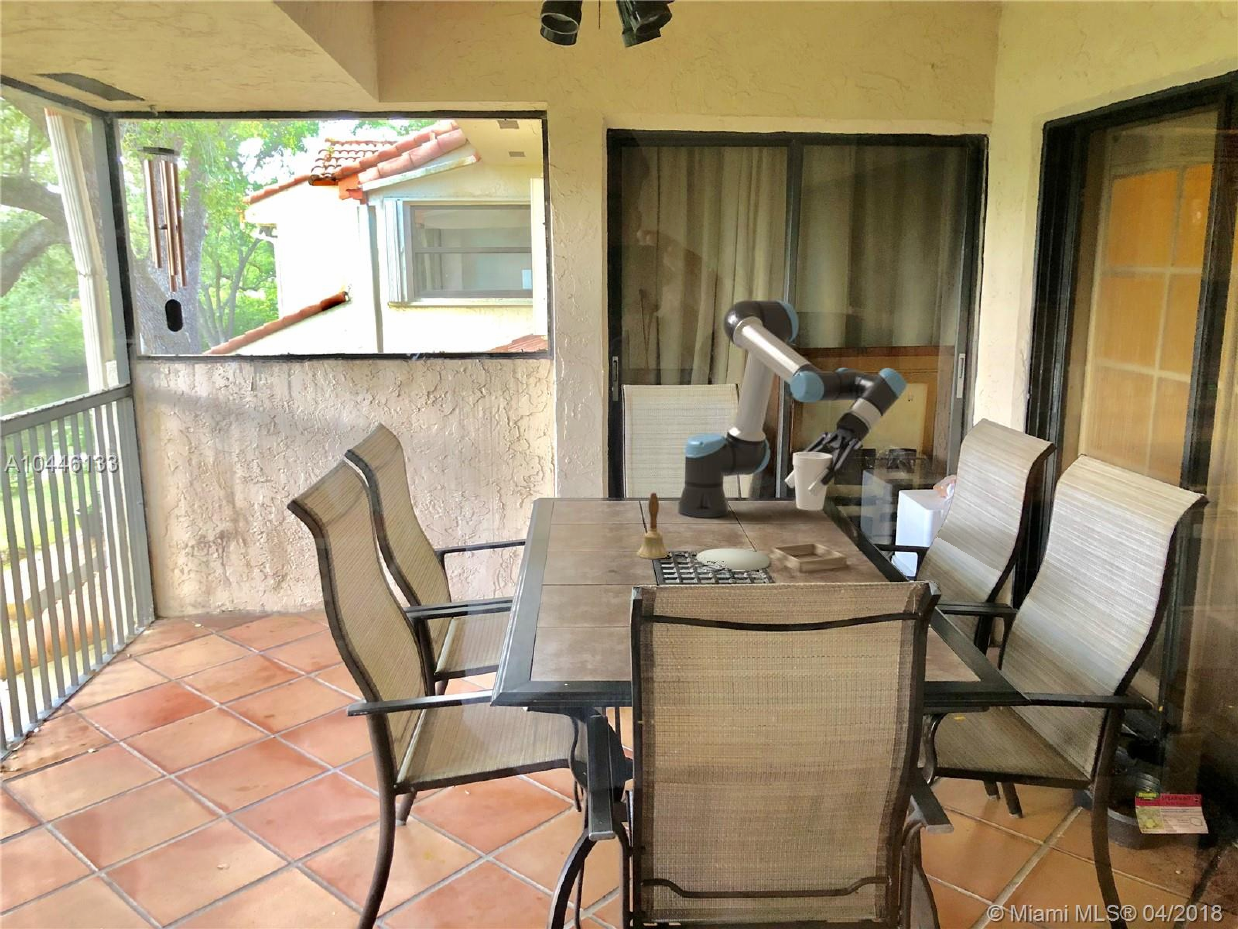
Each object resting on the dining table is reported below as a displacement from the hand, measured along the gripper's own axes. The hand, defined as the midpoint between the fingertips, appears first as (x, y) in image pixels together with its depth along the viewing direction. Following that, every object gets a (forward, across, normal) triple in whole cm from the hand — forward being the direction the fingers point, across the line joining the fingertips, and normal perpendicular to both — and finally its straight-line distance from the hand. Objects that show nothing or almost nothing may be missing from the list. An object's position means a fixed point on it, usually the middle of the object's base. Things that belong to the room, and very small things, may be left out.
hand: (799, 488), depth 220 cm
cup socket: (+11, 0, -16) cm, 19 cm away
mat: (+23, +7, -3) cm, 24 cm away
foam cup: (+1, 0, -6) cm, 6 cm away
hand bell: (+35, +18, +8) cm, 40 cm away
